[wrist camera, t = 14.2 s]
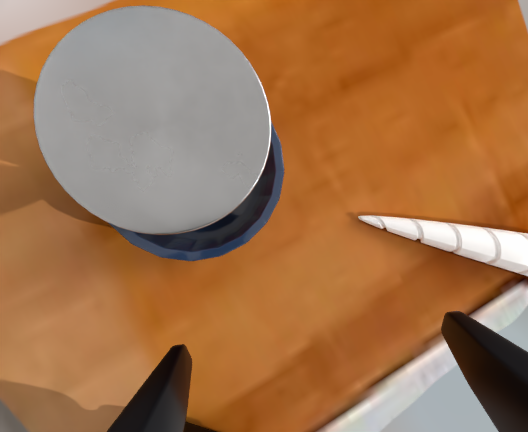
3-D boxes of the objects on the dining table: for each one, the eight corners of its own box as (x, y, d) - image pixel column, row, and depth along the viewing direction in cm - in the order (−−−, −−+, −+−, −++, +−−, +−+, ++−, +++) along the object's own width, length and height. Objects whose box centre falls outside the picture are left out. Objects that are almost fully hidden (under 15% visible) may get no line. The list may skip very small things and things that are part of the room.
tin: (236, 212, 20) (273, 234, 7) (157, 213, 19) (36, 240, 6) (235, 137, 20) (274, 19, 7) (155, 133, 18) (22, -16, 6)
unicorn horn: (365, 176, 22) (406, 169, 18) (553, 240, 27) (624, 248, 23) (351, 227, 22) (388, 234, 18) (541, 282, 27) (610, 299, 23)
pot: (227, 268, 21) (232, 290, 16) (91, 204, 18) (46, 205, 13) (290, 149, 21) (313, 133, 16) (164, 72, 19) (147, 27, 14)
